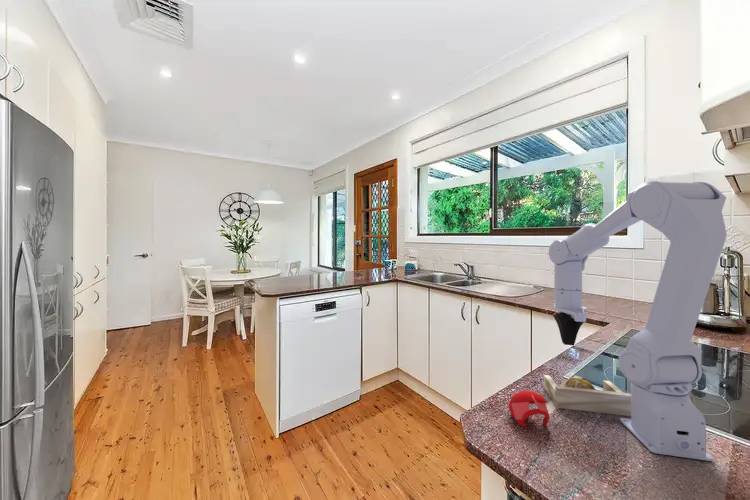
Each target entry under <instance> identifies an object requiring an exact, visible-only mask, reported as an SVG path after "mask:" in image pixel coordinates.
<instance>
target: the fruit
mask: <svg viewBox="0 0 750 500" xmlns="http://www.w3.org/2000/svg"><path fill="white" fill-rule="evenodd" d="M563 387H573V388H583V389H593V390H596V388H595V387H594V385H593V384H592V383H590V382H589V381H588V380H586V379H582V378H580V377H579V378H578V377H569V378H568V379H567V380H566V381H565V383H564V386H563Z"/></svg>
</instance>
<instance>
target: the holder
mask: <svg viewBox="0 0 750 500" xmlns="http://www.w3.org/2000/svg"><path fill="white" fill-rule="evenodd" d="M543 389H544V390H545V392H546V393H547V395H549V397H550V399H551V401H552V402H553V403H554V404H555V406H556V408H558V409H567V410H575V411H584V412H593V413H600V414H601V413H602V414H607V415H618V416H626V417H631V392H630V393H629V392H623V391H622V390H621V389H620V388H619V387H617V385H615V384H614V383H612V381H610V380H602V390H601V389H595V390H593V389H583V388H573V387H564V386H562V385H560V386H559V385H557V383H556V382H555V381H554V379H553V378H552V377H551V376H550V374H549V375H548V374H543Z"/></svg>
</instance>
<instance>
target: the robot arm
mask: <svg viewBox="0 0 750 500" xmlns="http://www.w3.org/2000/svg"><path fill="white" fill-rule="evenodd" d="M726 200H727V197H726V195H724V194H723V192H721V191H720V190H719V189H718V188H716V187H715V186H714V185H712V183H708V182H705V181H704V182H703V181H695V182H671V181H670V182H667V181H658V180H656V181H655V180H653V181H652V180H651V181H647V182H644V183H642V184H640V185H639V186H638V187H637V188H636V189H634V190H632V191H630V192H629V193H627V194H626V199H625V201H624V202H622V203H621V204H620V205H619V206H618V207H616V208H615V209H614V210H612V212H610V213H609V214H607V215H606V216H605V217H604V218H603V219H601V220H600V221H599V222H597V223H584V224H581V225H580V229H578V230H576V231H575V232H574V233H573V234H570V235H568V236H566V237H567V238H565V239H563V240H559V239H558V240H553V242H552V243H551V244H550V246H549V248H548V257H549V260H550V261H551V262H552V263H553V264H554V265H553V268H554V270H553V271H554V274H553V275H554V277H553V279H554V280H553V281H554V282H553V283H554V301H553V310H555V311H558V312H559V313H553V314H552V317H553V318H554V320H555V322H556V325H557V327H558V331H559V335H560V338H561V342H562V344H563V345H566V346H574V345H575V343H576V340H577V336H578V333H579V330H580V329H581V327H582V325H583V324H584V323H586V322H587V313H586V312H588V311H589V308H588V307H585V306H583V271H584V270H585V269H586V268H585V264H586V262H587V260H588V258H589V255H591V254H593V253H595V252H596V251H598V250H600V249H601V248H604V247H605V246H607V245H608V244H609V242H610V237H612V236H613V235H615V234H617V233H619V232H622V231H623V230H625V229H627V228H629V227H631V226H633V225H635V224H637V223H639V222H640V221H643V222H644V223H646V224H647V225H649V226H651V227H652V228H654V229H655V230H657V231H659V232H660V233H662V234H663V235H664V236H665V237H666V238H667V240H668V241H669V243H670V244H669V247H668V250H667V254H666V257H665V261H664V265H663V266H662V267H663V268H662V271H661V275H660V278H659V281H658V284H657V288H656V291H655V294H654V298H653V301H652V305H651V307H650V311H649V315H648V317H647V321H646V324H645V327H644V328H643V329H642V330H640V331H639V332H637V333H635V334H633V336H631V337H630V338H629V339H628V340H629V341H628V344H627V345H626V347H624V348H623V349H621V351H620V352H619V355H618V364H619V367H620V370H621V372H622V373H623V375H624V376H625V377H626V380H627V381H628V382H629V383H630V393H631V416H630V418H625V417H620V418H619V421H620V422H621V423H622V424H623V425H624V426H625V427H626V428H627V429H628V430H629V431H630V432H631V433H632V434H633V435H634V436H635V438H637V439H638V441H640V442H641V443H642V444H643V445H644V446H645V447H646V448H647V449H648V451H650V452H651V453H653V454H657V455H658V454H659V455H664V456H665V455H666V456H671V457H672V456H673V457H680V458H685V459H686V458H687V459H694V460H701V461H707V462H713V461H714V458H713V456H712V455H710V454H708V453H707V429H706V428H707V424H706V419H705V416H704V414H703V413H702V411H701V410H700V409H698V408H697V407H696V406H695V405H694V403H693V402H692V400H691V399H690V394H689V392H690V391H693V390H692V389H693V386H692V384H696V383H697V382H699V381H700V380H701V378H702V375H703V369H702V365H701V356H702V353H703V350H702V349H701V348H700V346H698V345H696V343H694V342H693V341H692V337H693V334H694V332H695V329H696V326H697V322H698V320H699V317H700V314H701V311H702V309H703V305H704V303H705V300H706V298H707V297H706V296H707V294H708V292H709V289H710V286H711V283H712V279H713V277H714V275H715V271H716V269H717V265H718V263H719V260H720V257H721V254H722V252H723V248H724V246H725V243H726V240H727V228H726V225H725V220H724V215H723V209H724V207H725V206H724V205H725V203H726Z"/></svg>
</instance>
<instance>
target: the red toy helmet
mask: <svg viewBox="0 0 750 500" xmlns="http://www.w3.org/2000/svg"><path fill="white" fill-rule="evenodd" d="M547 403H548V401H547V400H546V398H545V397H544V396H543V395H542V394H540V393H539V392H536V391H532V390H521V391H518V392H516V393H514V394H513V395H512V396H511V397H510V400H509V402H508V409H509V411H510V414H511V416H512V417H513V418H514V420H515V421H516V422H517V424H518V425H520V426H521V427H523V428H526V426H527V423H526V419H528V417H529V418H530V417H531V416H534V415H542V416H544V417H543V420H542V425H543V426H544V427H546V426H547V425H548V423H549V420H550V413H549V411H548V408H547V405H546V404H547ZM531 404H533V405H536V407H537V408H532V409H530V405H531Z"/></svg>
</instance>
